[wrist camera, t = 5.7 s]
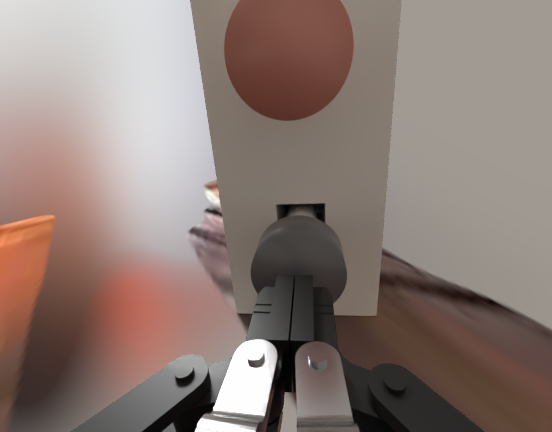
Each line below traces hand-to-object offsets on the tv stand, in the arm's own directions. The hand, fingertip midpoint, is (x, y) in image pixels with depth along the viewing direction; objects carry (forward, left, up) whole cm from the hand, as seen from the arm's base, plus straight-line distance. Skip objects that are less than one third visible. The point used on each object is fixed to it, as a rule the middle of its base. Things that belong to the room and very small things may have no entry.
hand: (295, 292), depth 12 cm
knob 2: (-3, +5, -2) cm, 6 cm away
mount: (-5, +8, -7) cm, 12 cm away
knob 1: (-3, +5, +7) cm, 9 cm away
